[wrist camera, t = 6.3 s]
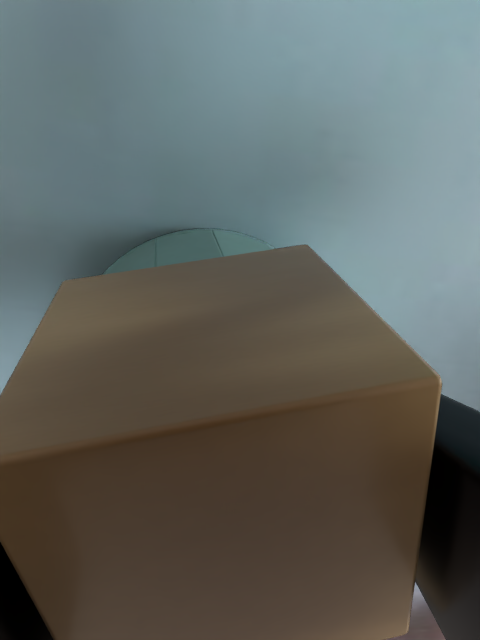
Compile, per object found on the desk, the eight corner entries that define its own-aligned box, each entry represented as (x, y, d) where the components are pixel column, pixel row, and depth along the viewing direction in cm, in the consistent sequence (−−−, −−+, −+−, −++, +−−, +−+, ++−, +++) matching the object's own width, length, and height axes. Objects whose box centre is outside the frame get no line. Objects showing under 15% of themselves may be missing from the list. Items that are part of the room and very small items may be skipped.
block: (308, 242, 9) (447, 377, 5) (313, 427, 11) (410, 636, 7) (61, 279, 9) (-45, 468, 4) (119, 465, 11) (90, 713, 6)
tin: (316, 208, 19) (386, 256, 13) (323, 416, 24) (375, 514, 19) (41, 252, 18) (-14, 326, 12) (113, 461, 23) (98, 580, 17)
